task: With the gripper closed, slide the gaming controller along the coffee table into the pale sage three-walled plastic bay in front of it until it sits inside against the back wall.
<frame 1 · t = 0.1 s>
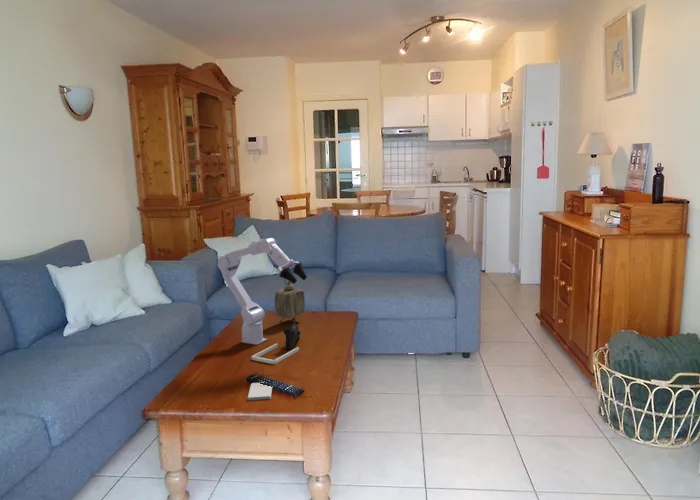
hand: (300, 280, 228), 32 cm above the table, tool tilted 50°, fingers open, 7 cm apart
sage bay: (276, 354, 228), on the table
external hard drive: (260, 393, 191), on the table
gaming controller: (293, 346, 239), on the table
tabletop clock: (291, 322, 275), on the table
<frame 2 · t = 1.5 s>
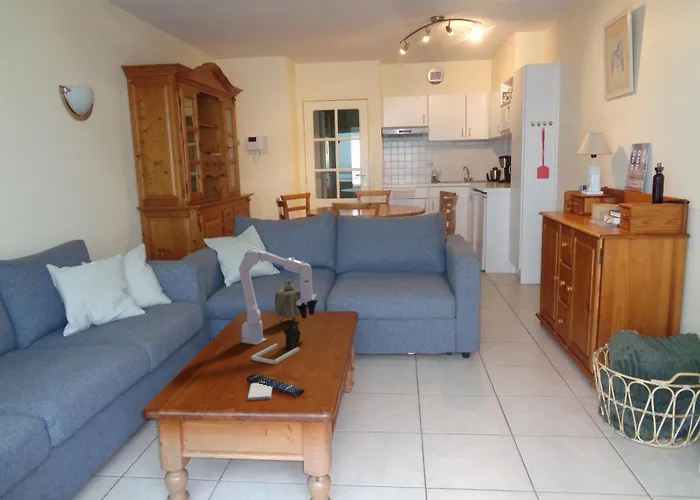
hand: (307, 316, 248), 10 cm above the table, tool pointing down, fingers open, 6 cm apart
nothing on the table moved.
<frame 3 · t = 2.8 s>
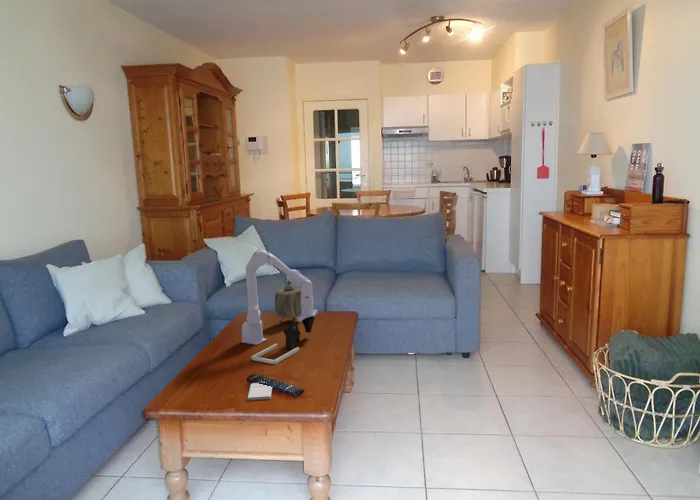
hand: (308, 332, 250), 3 cm above the table, tool pointing down, fingers closed
nothing on the table moved.
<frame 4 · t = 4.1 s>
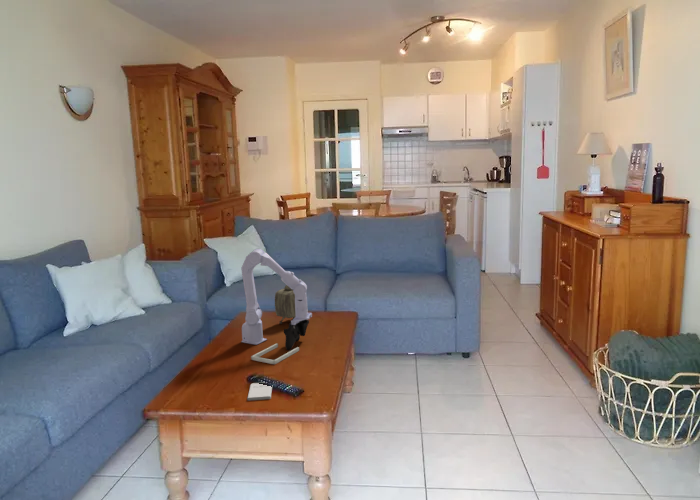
hand: (302, 335, 245), 2 cm above the table, tool pointing down, fingers closed
gaming controller: (293, 346, 239), on the table, touching gripper
everything else where it was.
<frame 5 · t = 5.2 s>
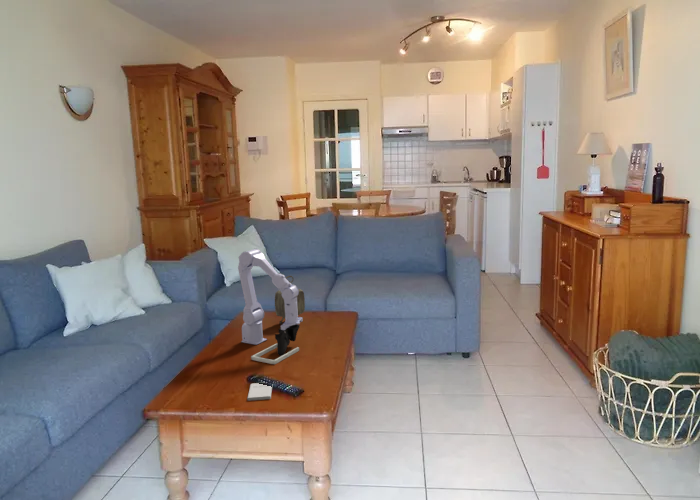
hand: (292, 340, 239), 2 cm above the table, tool pointing down, fingers closed
gaming controller: (284, 351, 232), on the table, touching gripper
everything else where it was.
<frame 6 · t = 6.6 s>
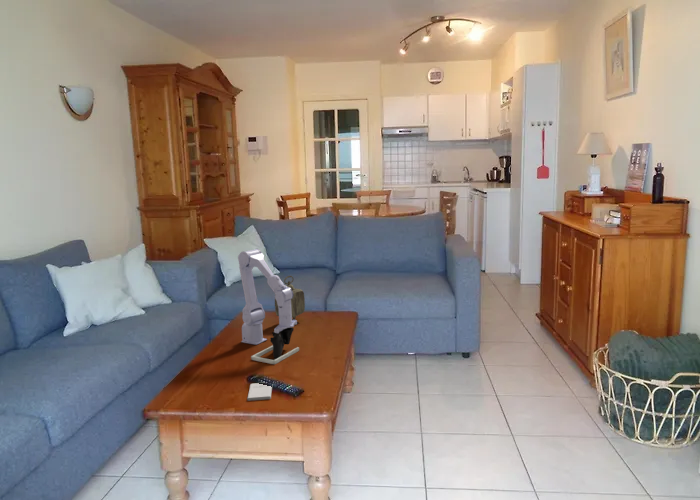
hand: (286, 343, 235), 2 cm above the table, tool pointing down, fingers closed
gaming controller: (279, 354, 228), on the table, touching gripper
everything else where it was.
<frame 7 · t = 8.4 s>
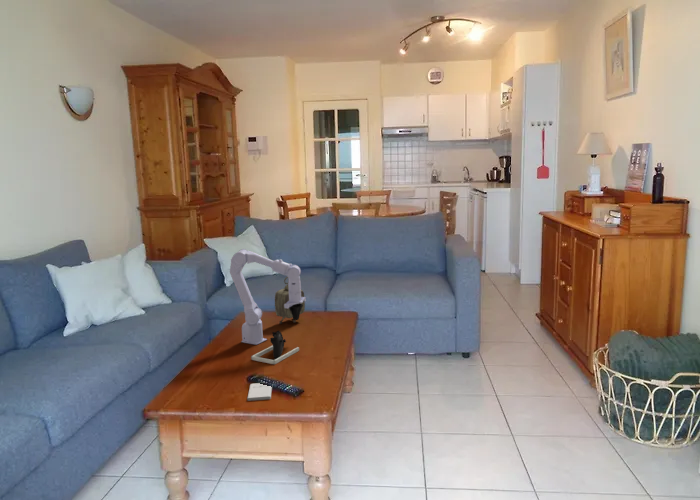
hand: (296, 319, 244), 10 cm above the table, tool pointing down, fingers closed
gaming controller: (279, 355, 228), on the table
everything else where it was.
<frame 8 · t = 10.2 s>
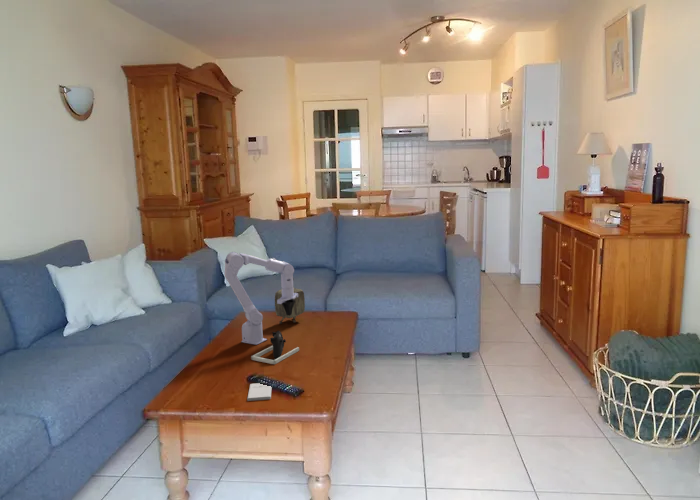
hand: (288, 314, 252), 10 cm above the table, tool pointing down, fingers closed
nothing on the table moved.
at the end: gaming controller 1.4 cm off-centre on the sage bay, point 0.0 cm above the sage bay's base; gaming controller tilted 0°; gaming controller moved 12.2 cm from its start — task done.
